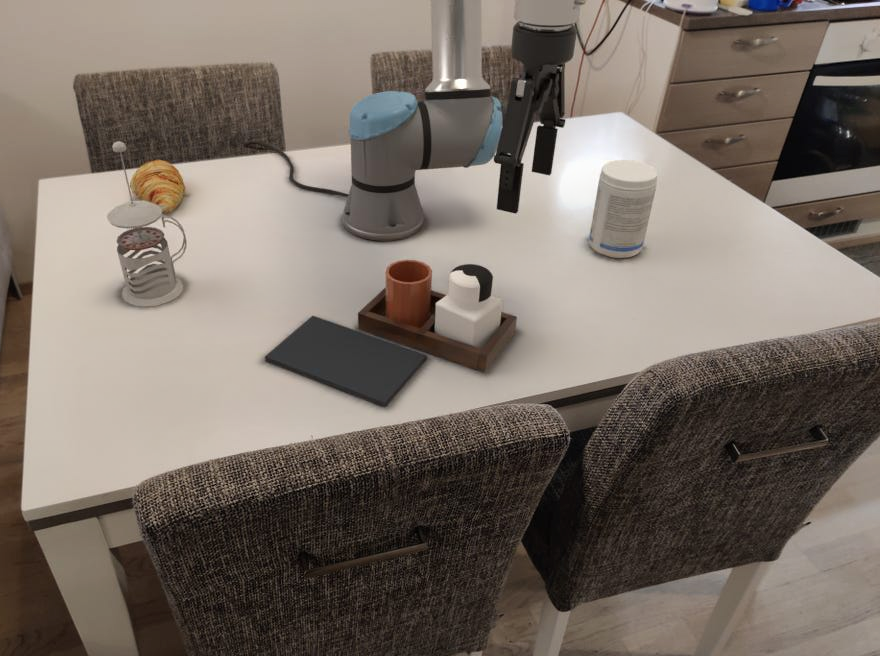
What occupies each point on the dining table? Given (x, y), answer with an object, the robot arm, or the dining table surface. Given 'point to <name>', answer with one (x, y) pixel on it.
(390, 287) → the terracotta cup
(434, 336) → the cup holder
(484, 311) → the medicine bottle
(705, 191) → the dining table surface
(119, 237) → the french press
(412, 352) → the mat
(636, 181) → the supplement tub
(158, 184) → the croissant
